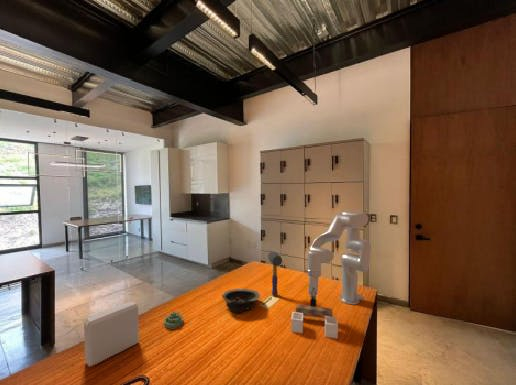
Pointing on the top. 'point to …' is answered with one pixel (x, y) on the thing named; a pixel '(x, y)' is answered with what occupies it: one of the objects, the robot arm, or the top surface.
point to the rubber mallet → (274, 270)
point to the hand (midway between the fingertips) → (313, 302)
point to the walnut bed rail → (314, 311)
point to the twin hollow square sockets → (330, 325)
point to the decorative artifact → (173, 320)
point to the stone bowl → (240, 299)
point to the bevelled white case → (110, 332)
